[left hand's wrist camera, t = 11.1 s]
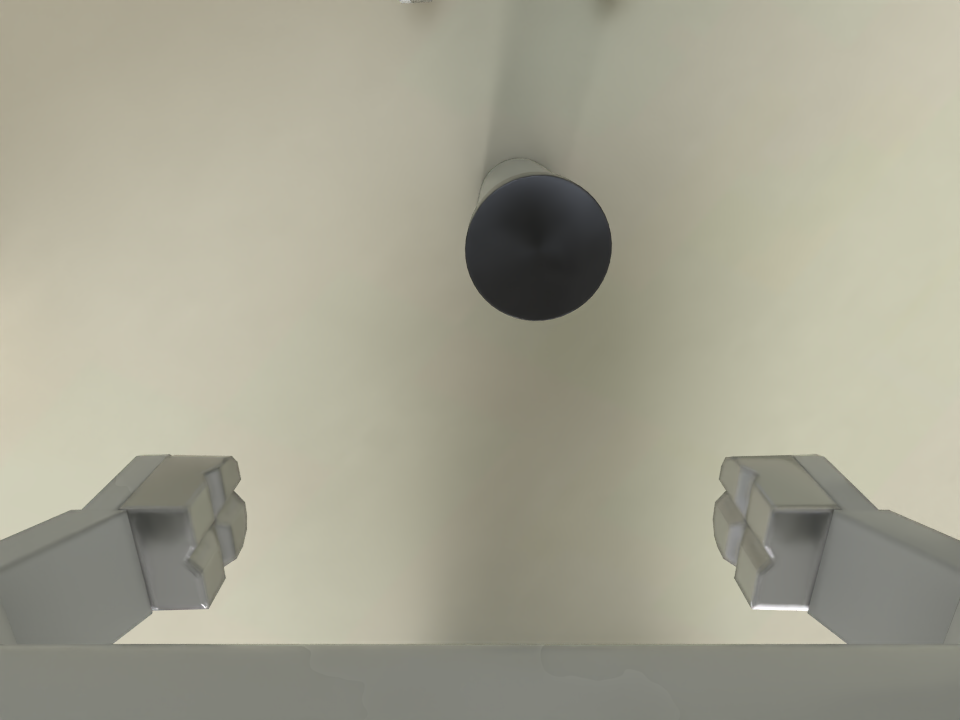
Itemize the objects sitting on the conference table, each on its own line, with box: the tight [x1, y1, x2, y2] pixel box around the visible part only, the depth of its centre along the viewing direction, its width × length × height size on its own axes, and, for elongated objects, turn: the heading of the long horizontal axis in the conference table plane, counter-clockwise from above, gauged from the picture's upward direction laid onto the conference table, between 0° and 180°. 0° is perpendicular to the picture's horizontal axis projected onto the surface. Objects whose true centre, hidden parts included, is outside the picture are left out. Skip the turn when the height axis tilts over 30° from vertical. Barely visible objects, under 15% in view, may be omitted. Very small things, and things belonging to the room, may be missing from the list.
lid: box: [465, 172, 612, 321], centre depth 21 cm, size 5×5×2 cm
